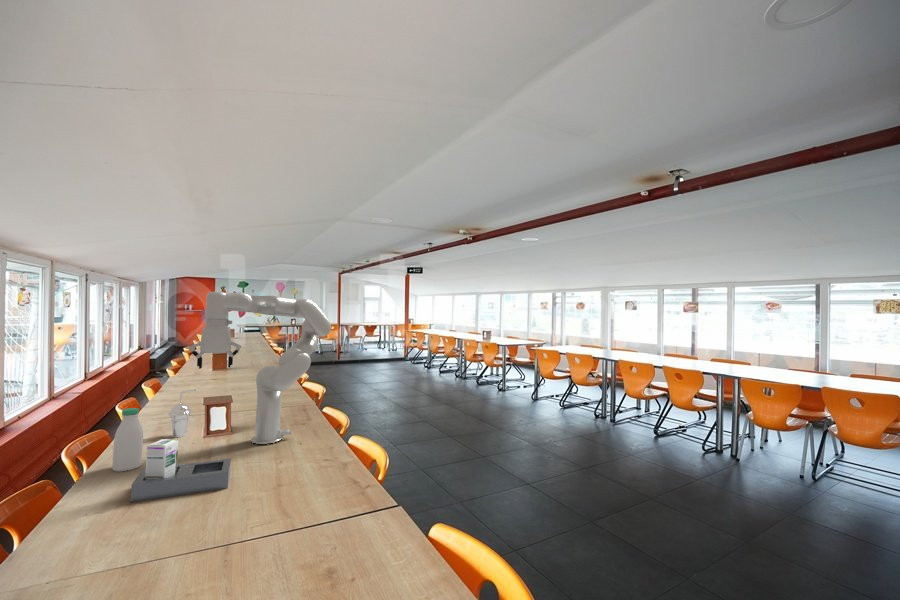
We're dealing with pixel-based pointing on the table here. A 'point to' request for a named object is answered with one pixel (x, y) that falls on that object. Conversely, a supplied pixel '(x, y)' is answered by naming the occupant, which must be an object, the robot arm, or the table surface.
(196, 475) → the slotted tray
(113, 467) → the milk bottle
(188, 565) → the table surface
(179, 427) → the cup with straw
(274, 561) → the table surface
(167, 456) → the syrup box
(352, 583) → the table surface
